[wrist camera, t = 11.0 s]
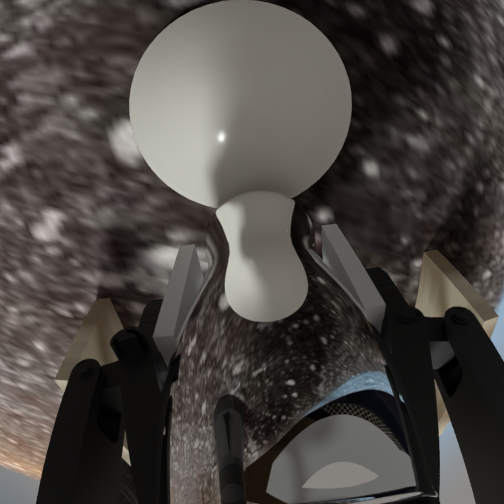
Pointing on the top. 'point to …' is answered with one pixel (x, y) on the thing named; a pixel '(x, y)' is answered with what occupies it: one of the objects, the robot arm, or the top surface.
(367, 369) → the beer glass
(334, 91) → the coaster
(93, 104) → the top surface
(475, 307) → the open side box
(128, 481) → the travel mug
